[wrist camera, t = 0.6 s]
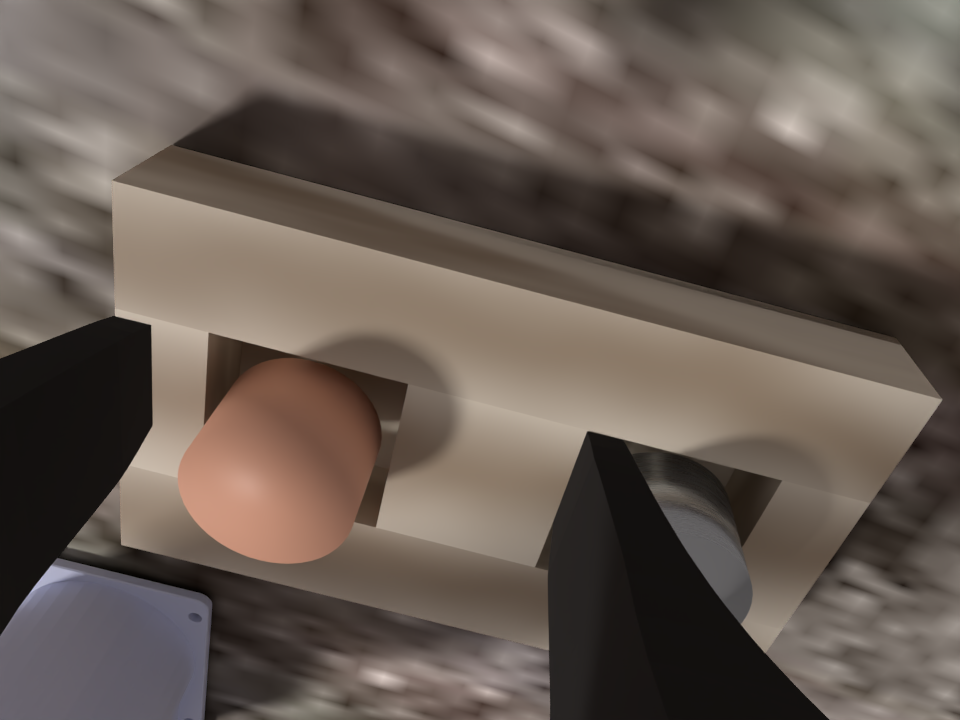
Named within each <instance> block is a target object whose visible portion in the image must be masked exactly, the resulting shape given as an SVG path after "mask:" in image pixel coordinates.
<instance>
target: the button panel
mask: <svg viewBox="0 0 960 720" xmlns="http://www.w3.org/2000/svg"><path fill="white" fill-rule="evenodd" d="M112 214H113V252H114V289H115V316H116V317H121V318H125V319H129V320H133V321H137V322H141V323H145V324H149V325H151V334H152V404H153V426H152V428H151V429H150V431H149V433H148V435H147V436H146V438H145V440H144V442H143V443H142V445H141V447H140V449H139V450H138V452H137V454H136V456H135V457H134V459H133V460H132V462H131V464H130V465H129V467H128V469H127V470H126V472H125V473H124V475H123V476H122V478H121V479H120V515H121V545H124V546H128V547H132V548H136V549H140V550H144V551H148V552H152V553H157V554H161V555H165V556H169V557H173V558H177V559H181V560H185V561H189V562H193V563H197V564H201V565H205V566H209V567H213V568H217V569H221V570H225V571H229V572H233V573H237V574H241V575H246V576H250V577H254V578H258V579H262V580H266V581H270V582H274V583H278V584H282V585H286V586H290V587H294V588H298V589H302V590H306V591H310V592H314V593H318V594H322V595H326V596H330V597H335V598H339V599H343V600H347V601H351V602H355V603H359V604H363V605H367V606H371V607H375V608H379V609H383V610H387V611H391V612H395V613H399V614H403V615H407V616H411V617H415V618H419V619H424V620H428V621H432V622H436V623H440V624H444V625H448V626H452V627H456V628H460V629H464V630H468V631H472V632H476V633H480V634H484V635H488V636H492V637H496V638H500V639H504V640H508V641H513V642H517V643H521V644H525V645H529V646H533V647H537V648H541V649H545V650H549V626H548V567H549V556H550V546H551V537H552V528H553V521H554V518H555V516H556V513H557V510H558V508H559V505H560V502H561V500H562V497H563V494H564V492H565V489H566V486H567V484H568V481H569V478H570V476H571V473H572V470H573V468H574V465H575V462H576V460H577V457H578V454H579V452H580V449H581V446H582V444H583V441H584V438H585V436H586V433H587V431H589V432H593V433H597V434H601V435H605V436H609V437H613V438H617V439H621V440H624V442H625V444H626V445H627V447H628V449H629V451H630V452H631V454H635V453H644V452H660V453H669V454H674V455H679V456H682V457H685V458H688V459H690V460H693V461H695V462H697V463H699V464H701V465H702V466H704V467H706V468H707V469H708V470H709V471H711V472H712V473H713V474H714V475H715V476H716V477H717V478H718V479H719V480H720V482H721V483H722V485H723V486H724V488H725V490H726V492H727V494H728V497H729V501H730V505H731V509H732V512H733V516H734V520H735V524H736V527H737V531H738V535H739V539H740V542H741V546H742V550H743V554H744V557H745V561H746V565H747V569H748V572H749V576H750V580H751V584H752V590H753V597H752V604H751V607H750V610H749V612H748V614H747V616H746V618H745V619H744V621H743V622H742V623H741V625H742V626H743V628H744V629H745V630H746V631H747V633H748V634H749V635H750V636H751V638H752V639H753V640H754V641H755V642H756V643H757V644H758V646H759V647H760V648H761V649H762V650H763V651H764V652H765V653H766V652H767V650H768V649H769V647H770V646H771V644H772V643H773V642H774V640H775V639H776V637H777V636H778V634H779V633H780V632H781V630H782V629H783V627H784V626H785V624H786V623H787V622H788V620H789V619H790V617H791V616H792V614H793V613H794V612H795V610H796V609H797V607H798V606H799V604H800V603H801V602H802V600H803V599H804V597H805V596H806V594H807V593H808V592H809V590H810V589H811V587H812V586H813V584H814V583H815V582H816V580H817V579H818V577H819V576H820V574H821V573H822V572H823V570H824V569H825V567H826V566H827V564H828V563H829V562H830V560H831V559H832V557H833V556H834V554H835V553H836V551H837V550H838V549H839V547H840V546H841V544H842V543H843V541H844V540H845V539H846V537H847V536H848V534H849V533H850V531H851V530H852V529H853V527H854V526H855V524H856V523H857V521H858V520H859V519H860V517H861V516H862V514H863V513H864V511H865V510H866V509H867V507H868V506H869V504H870V503H871V501H872V500H873V499H874V497H875V496H876V494H877V493H878V491H879V490H880V489H881V487H882V486H883V484H884V483H885V481H886V480H887V479H888V477H889V476H890V474H891V473H892V471H893V470H894V469H895V467H896V466H897V464H898V463H899V461H900V460H901V459H902V457H903V456H904V454H905V453H906V451H907V450H908V449H909V447H910V446H911V444H912V443H913V441H914V440H915V439H916V437H917V436H918V434H919V433H920V431H921V430H922V429H923V427H924V426H925V424H926V423H927V421H928V420H929V418H930V417H931V416H932V414H933V413H934V411H935V410H936V408H937V407H938V406H939V404H940V403H941V401H942V398H941V397H940V396H939V394H938V393H937V392H936V390H935V389H934V388H933V386H932V385H931V384H930V382H929V381H928V380H927V378H926V377H925V376H924V374H923V373H922V372H921V370H920V369H919V368H918V366H917V365H916V364H915V363H914V361H913V360H912V359H911V357H910V356H909V355H908V353H907V352H906V351H905V349H904V348H903V347H902V345H901V344H900V343H899V341H898V340H897V339H896V338H895V337H891V336H887V335H883V334H880V333H876V332H872V331H868V330H865V329H861V328H857V327H853V326H849V325H846V324H842V323H838V322H834V321H831V320H827V319H823V318H819V317H816V316H812V315H808V314H804V313H801V312H797V311H793V310H789V309H786V308H782V307H778V306H774V305H771V304H767V303H763V302H759V301H756V300H752V299H748V298H744V297H741V296H737V295H733V294H729V293H726V292H722V291H718V290H714V289H711V288H707V287H703V286H699V285H695V284H692V283H688V282H684V281H680V280H677V279H673V278H669V277H665V276H662V275H658V274H654V273H650V272H647V271H643V270H639V269H635V268H632V267H628V266H624V265H620V264H617V263H613V262H609V261H605V260H602V259H598V258H594V257H590V256H587V255H583V254H579V253H575V252H572V251H568V250H564V249H560V248H556V247H553V246H549V245H545V244H541V243H538V242H534V241H530V240H526V239H523V238H519V237H515V236H511V235H508V234H504V233H500V232H496V231H493V230H489V229H485V228H481V227H478V226H474V225H470V224H466V223H463V222H459V221H455V220H451V219H448V218H444V217H440V216H436V215H433V214H429V213H425V212H421V211H418V210H414V209H410V208H406V207H402V206H399V205H395V204H391V203H387V202H384V201H380V200H376V199H372V198H369V197H365V196H361V195H357V194H354V193H350V192H346V191H342V190H339V189H335V188H331V187H327V186H324V185H320V184H316V183H312V182H309V181H305V180H301V179H297V178H294V177H290V176H286V175H282V174H279V173H275V172H271V171H267V170H264V169H260V168H256V167H252V166H248V165H245V164H241V163H237V162H233V161H230V160H226V159H222V158H218V157H215V156H211V155H207V154H203V153H200V152H196V151H192V150H188V149H185V148H181V147H177V146H173V145H171V146H169V147H167V148H165V149H164V150H162V151H160V152H159V153H157V154H155V155H154V156H152V157H150V158H149V159H147V160H145V161H144V162H142V163H140V164H139V165H137V166H135V167H133V168H132V169H130V170H128V171H127V172H125V173H123V174H122V175H120V176H118V177H117V178H115V179H113V180H112ZM280 358H297V359H305V360H310V361H314V362H317V363H320V364H324V365H326V366H328V367H330V368H333V369H335V370H336V371H338V372H340V373H342V374H343V375H345V376H346V377H348V378H349V379H350V380H352V381H353V382H354V383H355V384H356V385H357V386H359V387H360V388H361V390H362V391H363V392H364V393H365V394H366V395H367V397H368V398H369V399H370V401H371V402H372V404H373V406H374V408H375V410H376V412H377V414H378V417H379V420H380V424H381V430H382V440H381V447H380V450H379V453H378V456H377V459H376V462H375V464H374V467H373V470H372V473H371V476H370V479H369V481H368V484H367V487H366V490H365V493H364V496H363V498H362V501H361V504H360V507H359V510H358V513H357V515H356V518H355V521H354V524H353V527H352V529H351V531H350V533H349V535H348V537H347V538H346V539H345V541H344V542H343V543H342V544H341V545H340V546H339V547H338V548H337V549H335V550H334V551H332V552H331V553H330V554H328V555H325V556H323V557H321V558H319V559H315V560H312V561H308V562H303V563H293V564H281V563H272V562H266V561H261V560H257V559H254V558H250V557H247V556H245V555H242V554H240V553H237V552H235V551H233V550H231V549H229V548H227V547H226V546H224V545H222V544H221V543H219V542H218V541H216V540H215V539H214V538H212V537H211V536H210V535H208V534H207V533H206V532H205V531H204V530H203V529H202V528H201V527H200V526H199V525H198V524H197V523H196V522H195V520H194V519H193V518H192V516H191V515H190V513H189V512H188V510H187V508H186V507H185V505H184V503H183V500H182V498H181V495H180V491H179V487H178V469H179V465H180V462H181V459H182V457H183V455H184V453H185V452H186V450H187V449H188V447H189V446H190V445H191V443H192V442H193V440H194V439H195V438H196V436H197V435H198V433H199V432H200V430H201V429H202V428H203V426H204V425H205V423H206V422H207V421H208V419H209V418H210V416H211V415H212V414H213V412H214V411H215V409H216V408H217V406H218V405H219V404H220V402H221V401H222V399H223V398H224V397H225V395H226V394H227V392H228V391H229V390H230V388H231V387H232V385H233V384H234V383H235V381H236V380H237V379H238V378H239V376H241V375H242V374H243V373H244V372H245V371H246V370H248V369H250V368H251V367H253V366H255V365H257V364H259V363H262V362H265V361H268V360H273V359H280Z"/></svg>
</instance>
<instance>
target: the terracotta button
mask: <svg viewBox="0 0 960 720" xmlns="http://www.w3.org/2000/svg"><path fill="white" fill-rule="evenodd" d="M381 440H382V430H381V424H380V420H379V417H378V414H377V412H376V410H375V408H374V406H373V404H372V402H371V401H370V399H369V398H368V397H367V395H366V394H365V393H364V392H363V391H362V390H361V388H360V387H359V386H357V385H356V384H355V383H354V382H353V381H352V380H350V379H349V378H348V377H346V376H345V375H343V374H342V373H340V372H338V371H336V370H335V369H333V368H330V367H328V366H326V365H324V364H320V363H317V362H314V361H310V360H305V359H297V358H280V359H273V360H268V361H265V362H262V363H259V364H257V365H255V366H253V367H251V368H250V369H248V370H246V371H245V372H244V373H243V374H242V375H241V376H239V378H238V379H237V380H236V381H235V383H234V384H233V385H232V387H231V388H230V390H229V391H228V392H227V394H226V395H225V397H224V398H223V399H222V401H221V402H220V404H219V405H218V406H217V408H216V409H215V411H214V412H213V414H212V415H211V416H210V418H209V419H208V421H207V422H206V423H205V425H204V426H203V428H202V429H201V430H200V432H199V433H198V435H197V436H196V438H195V439H194V440H193V442H192V443H191V445H190V446H189V447H188V449H187V450H186V452H185V453H184V455H183V457H182V459H181V462H180V465H179V469H178V487H179V491H180V495H181V498H182V500H183V503H184V505H185V507H186V508H187V510H188V512H189V513H190V515H191V516H192V518H193V519H194V520H195V522H196V523H197V524H198V525H199V526H200V527H201V528H202V529H203V530H204V531H205V532H206V533H207V534H208V535H210V536H211V537H212V538H214V539H215V540H216V541H218V542H219V543H221V544H222V545H224V546H226V547H227V548H229V549H231V550H233V551H235V552H237V553H240V554H242V555H245V556H247V557H250V558H254V559H257V560H261V561H266V562H272V563H281V564H293V563H303V562H308V561H312V560H315V559H319V558H321V557H323V556H325V555H328V554H330V553H331V552H332V551H334V550H335V549H337V548H338V547H339V546H340V545H341V544H342V543H343V542H344V541H345V539H346V538H347V537H348V535H349V533H350V531H351V529H352V527H353V524H354V521H355V518H356V515H357V513H358V510H359V507H360V504H361V501H362V498H363V496H364V493H365V490H366V487H367V484H368V481H369V479H370V476H371V473H372V470H373V467H374V464H375V462H376V459H377V456H378V453H379V450H380V447H381Z"/></svg>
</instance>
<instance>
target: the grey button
mask: <svg viewBox="0 0 960 720" xmlns="http://www.w3.org/2000/svg"><path fill="white" fill-rule="evenodd" d="M632 456H633V458H634V460H635V462H636V464H637V465H638V467H639V469H640V471H641V473H642V475H643V477H644V479H645V480H646V482H647V484H648V486H649V488H650V490H651V491H652V493H653V495H654V497H655V499H656V500H657V502H658V504H659V506H660V507H661V509H662V511H663V513H664V514H665V516H666V518H667V519H668V521H669V523H670V524H671V526H672V528H673V529H674V531H675V533H676V534H677V536H678V538H679V539H680V541H681V543H682V544H683V546H684V547H685V549H686V550H687V552H688V554H689V555H690V556H691V558H692V559H693V561H694V562H695V564H696V565H697V567H698V568H699V570H700V571H701V572H702V574H703V575H704V577H705V578H706V580H707V581H708V583H709V584H710V585H711V587H712V588H713V590H714V591H715V592H716V594H717V595H718V596H719V598H720V599H721V600H722V602H723V603H724V604H725V605H726V607H727V608H728V609H729V610H730V612H731V613H732V614H733V615H734V617H735V618H736V619H737V620H738V622H739V623H740V624H741V623H742V622H743V621H744V619H745V618H746V616H747V614H748V612H749V610H750V607H751V604H752V597H753V590H752V584H751V580H750V576H749V572H748V569H747V565H746V561H745V557H744V554H743V550H742V546H741V542H740V539H739V535H738V531H737V527H736V524H735V520H734V516H733V512H732V509H731V505H730V501H729V497H728V494H727V492H726V490H725V488H724V486H723V485H722V483H721V482H720V480H719V479H718V478H717V477H716V476H715V475H714V474H713V473H712V472H711V471H709V470H708V469H707V468H706V467H704V466H702V465H701V464H699V463H697V462H695V461H693V460H690V459H688V458H685V457H682V456H679V455H674V454H669V453H660V452H644V453H635V454H632Z"/></svg>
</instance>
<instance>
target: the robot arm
mask: <svg viewBox="0 0 960 720" xmlns="http://www.w3.org/2000/svg"><path fill="white" fill-rule="evenodd" d="M152 426H153V404H152V334H151V325H149V324H145V323H141V322H137V321H133V320H129V319H125V318H121V317H116V316H112V317H109V318H106V319H103V320H100V321H97V322H94V323H91V324H89V325H86V326H83V327H81V328H78V329H75V330H73V331H70V332H68V333H65V334H62V335H60V336H57V337H55V338H52V339H50V340H47V341H45V342H42V343H40V344H37V345H34V346H32V347H29V348H27V349H24V350H21V351H19V352H16V353H14V354H11V355H9V356H6V357H3V358H1V359H0V720H204V717H205V702H206V688H207V674H208V659H209V645H210V630H211V616H212V601H211V600H210V599H209V597H207V596H206V595H204V594H202V593H198V592H194V591H190V590H186V589H182V588H178V587H174V586H170V585H166V584H161V583H157V582H153V581H149V580H145V579H141V578H137V577H133V576H129V575H125V574H121V573H117V572H113V571H109V570H105V569H100V568H96V567H92V566H88V565H84V564H80V563H76V562H72V561H68V560H64V559H60V558H58V557H59V555H60V554H61V553H62V552H63V550H64V549H65V548H66V547H67V545H68V544H69V543H70V542H71V540H72V539H73V538H74V537H75V535H76V534H77V533H78V532H79V531H80V529H81V528H82V527H83V526H84V524H85V523H86V522H87V521H88V519H89V518H90V517H91V516H92V515H93V513H94V512H95V511H96V509H97V508H98V507H99V506H100V504H101V503H102V502H103V501H104V499H105V498H106V497H107V496H108V494H109V493H110V492H111V491H112V489H113V488H114V487H115V485H116V484H117V483H118V482H119V480H120V479H121V478H122V476H123V475H124V473H125V472H126V470H127V469H128V467H129V465H130V464H131V462H132V460H133V459H134V457H135V456H136V454H137V452H138V450H139V449H140V447H141V445H142V443H143V442H144V440H145V438H146V436H147V435H148V433H149V431H150V429H151V428H152ZM548 626H549V665H550V720H829V719H828V718H827V717H826V716H825V715H824V714H823V713H822V712H821V711H820V710H819V709H818V708H817V707H816V706H815V705H814V704H813V703H812V702H811V701H810V700H809V699H808V698H807V697H806V696H805V695H804V694H803V693H802V692H801V691H800V690H799V689H798V688H797V687H796V686H795V685H794V684H793V683H792V682H791V680H790V679H789V678H788V677H787V676H786V675H785V674H784V673H783V672H782V671H781V670H780V669H779V668H778V667H777V666H776V664H775V663H774V662H773V661H772V660H771V659H770V658H769V657H768V656H767V655H766V654H765V652H764V651H763V650H762V649H761V648H760V647H759V646H758V644H757V643H756V642H755V641H754V640H753V639H752V638H751V636H750V635H749V634H748V633H747V631H746V630H745V629H744V628H743V626H742V625H741V624H740V623H739V622H738V620H737V619H736V618H735V617H734V615H733V614H732V613H731V612H730V610H729V609H728V608H727V607H726V605H725V604H724V603H723V602H722V600H721V599H720V598H719V596H718V595H717V594H716V592H715V591H714V590H713V588H712V587H711V585H710V584H709V583H708V581H707V580H706V578H705V577H704V575H703V574H702V572H701V571H700V570H699V568H698V567H697V565H696V564H695V562H694V561H693V559H692V558H691V556H690V555H689V554H688V552H687V550H686V549H685V547H684V546H683V544H682V543H681V541H680V539H679V538H678V536H677V534H676V533H675V531H674V529H673V528H672V526H671V524H670V523H669V521H668V519H667V518H666V516H665V514H664V513H663V511H662V509H661V507H660V506H659V504H658V502H657V500H656V499H655V497H654V495H653V493H652V491H651V490H650V488H649V486H648V484H647V482H646V480H645V479H644V477H643V475H642V473H641V471H640V469H639V467H638V465H637V464H636V462H635V460H634V458H633V456H632V454H631V452H630V451H629V449H628V447H627V445H626V444H625V442H624V440H621V439H617V438H613V437H609V436H605V435H601V434H597V433H593V432H589V431H587V433H586V436H585V438H584V441H583V444H582V446H581V449H580V452H579V454H578V457H577V460H576V462H575V465H574V468H573V470H572V473H571V476H570V478H569V481H568V484H567V486H566V489H565V492H564V494H563V497H562V500H561V502H560V505H559V508H558V510H557V513H556V516H555V518H554V521H553V528H552V537H551V546H550V556H549V567H548Z"/></svg>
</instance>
